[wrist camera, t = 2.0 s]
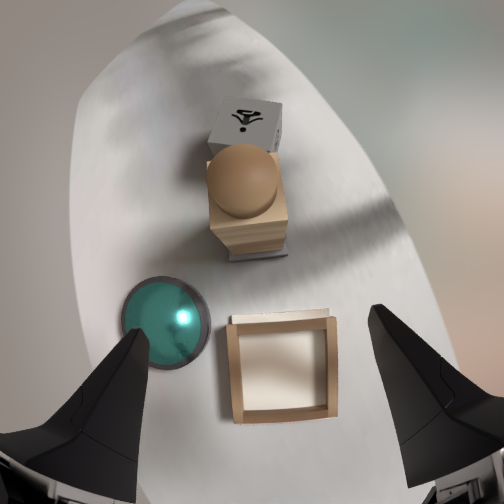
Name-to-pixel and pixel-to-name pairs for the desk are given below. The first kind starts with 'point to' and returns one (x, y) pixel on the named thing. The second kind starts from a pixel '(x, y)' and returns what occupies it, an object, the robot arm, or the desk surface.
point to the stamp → (247, 202)
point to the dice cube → (247, 124)
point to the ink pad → (168, 320)
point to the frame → (283, 367)
